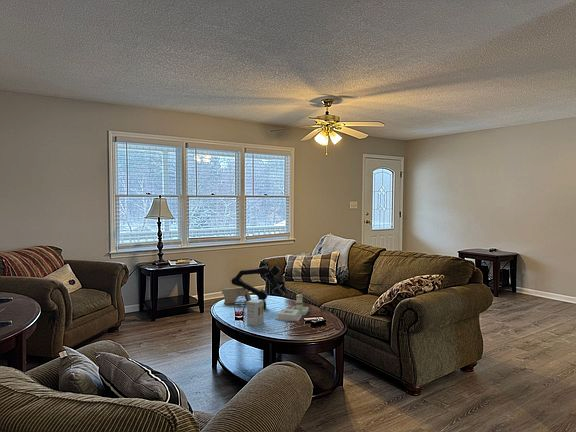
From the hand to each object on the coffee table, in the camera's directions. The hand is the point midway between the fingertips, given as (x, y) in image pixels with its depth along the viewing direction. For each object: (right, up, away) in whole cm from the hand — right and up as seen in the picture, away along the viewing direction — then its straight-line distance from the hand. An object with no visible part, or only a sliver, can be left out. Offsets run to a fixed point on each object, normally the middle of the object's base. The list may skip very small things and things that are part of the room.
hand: (284, 293), depth 318 cm
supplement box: (-21, -15, -32) cm, 41 cm away
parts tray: (+12, -14, -6) cm, 19 cm away
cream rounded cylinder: (+12, -13, -6) cm, 18 cm away
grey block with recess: (+4, -14, -19) cm, 24 cm away
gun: (-41, -13, +20) cm, 48 cm away
